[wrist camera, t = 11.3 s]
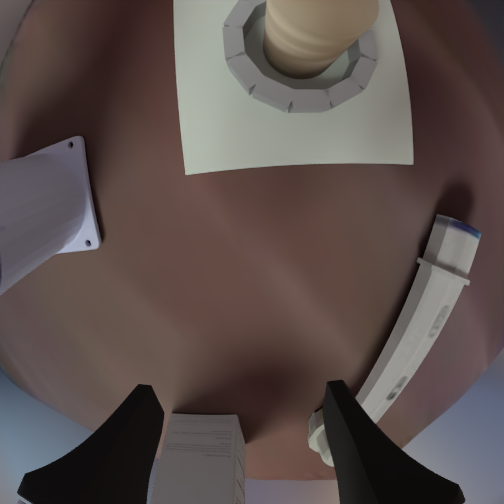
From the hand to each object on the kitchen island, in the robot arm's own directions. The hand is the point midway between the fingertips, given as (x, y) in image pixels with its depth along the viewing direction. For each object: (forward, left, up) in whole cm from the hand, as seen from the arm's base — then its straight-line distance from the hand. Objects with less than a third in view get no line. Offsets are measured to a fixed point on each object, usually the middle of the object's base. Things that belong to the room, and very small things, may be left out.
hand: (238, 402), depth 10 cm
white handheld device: (+11, -7, -10) cm, 16 cm away
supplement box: (-6, -18, -10) cm, 21 cm away
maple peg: (+4, +15, -9) cm, 18 cm away
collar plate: (+4, +15, -9) cm, 18 cm away
